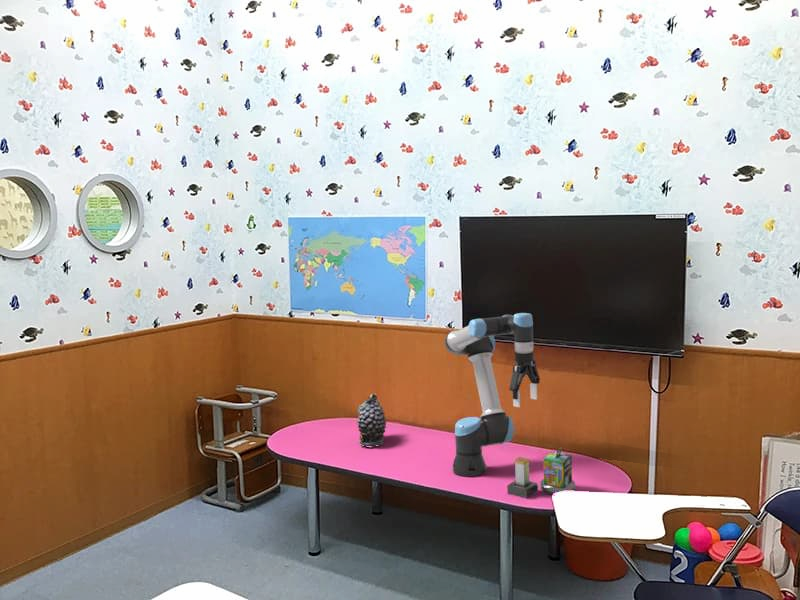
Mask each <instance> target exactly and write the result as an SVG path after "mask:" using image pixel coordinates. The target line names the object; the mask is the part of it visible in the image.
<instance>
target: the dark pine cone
mask: <svg viewBox="0 0 800 600" xmlns="http://www.w3.org/2000/svg"><path fill="white" fill-rule="evenodd" d="M357 413H358V418H357V419H356V424H357V426H358V427H357V428H358V431H359V433H360V435H359V438H358V440H359V444H362V445H364V446H376V445H380V444H382V443H384V440H385V435H384V434H385V433H386V430H385V429H386V428H387V426H386V425H387V421H386V420H387V419H386V417H385V415H386V414H385V412H384V408H383V407H382V403H380V402H379V400H378V395H377V394H376V393H375V392H372V394H370V396H368V397H367V398H366V399H365V400H364V402H363V403H361V404H360V405H358V409H357ZM382 445H383V444H382ZM380 446H381V445H380Z"/></svg>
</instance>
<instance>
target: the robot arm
mask: <svg viewBox="0 0 800 600" xmlns="http://www.w3.org/2000/svg"><path fill="white" fill-rule="evenodd" d="M502 335H504V336H505V335H514V336H513V337H514V339H513V340H514V361H515V362H517V365H513V366H512V373H511V374H512V375H511V380H510V383H509V387H508V389H509V391H512V405H513V407H514V408H515V407H516V408H521V391H520V390H519V389H520V388H521V385H522V381H523V379H524V377H526V375H527V377H528V379H529V381H530V383H529V391H530V400H538V384H540V380H541V379H540V375H539V371H538V369H537V365H536V364H537V363H536V360H535V359H534V357H535V355H534V352H533V351H534V346H535V345H534V321H533V315H532V314H531V313H529V312H528V313H527V312H519V313H515V314H514V315H512V314H504V315H502V316H494V317H486V318H474V319H471V320H470V321H469V323H468V325H467V326H465V327H462V328H461V329H458V330H457V329H456V330H452V331H451V332H449V333H448V334H446V336H445V338H444V346H445V348H446V351H448V352H449V353H451V354H453V355H456V356H466V355H467V359H468V360H469V361H470V362H471V363H472V367H473V372H474V376H475V380H476V387H477V392H478V395H479V400H480V404H481V410H482V413H481V415H480V417H477V416H468V417H463V418H461V419H459V420H458V421H457V422H455V426H454V435H455V436H454V438H455V441H454V442H455V457H454V460H453V463H452V473H454V475H457V476H460V477H470V478H471V477H478V476H482V475H484V474H486V473H487V463H486V461H485V458H484V455H483V447H488V446H489V447H490V446H496V445H503V444H506V443H510V442H511V441H512V439H513V435H514V434H515V433H514V431H515V427H514V426H515V425H514V422H513V419H512V417H510V416H509V415H507V413H506V411H505V410H503V409H502V406H501V402H500V396H499V393H498V388H497V383H496V378H495V373H494V369H493V365H492V360H491V358H492V356H493V355H494V353H493V352H494V351H495V349H496V340H495V336H502Z"/></svg>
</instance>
